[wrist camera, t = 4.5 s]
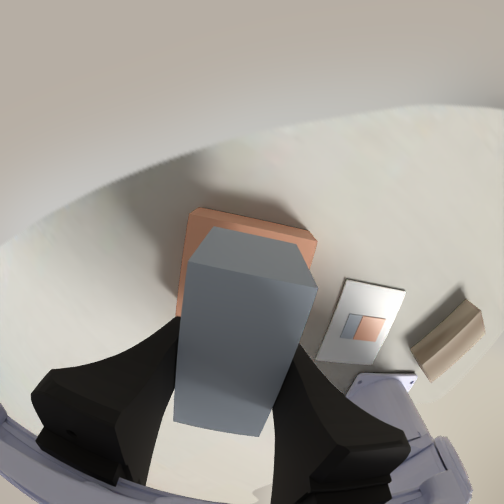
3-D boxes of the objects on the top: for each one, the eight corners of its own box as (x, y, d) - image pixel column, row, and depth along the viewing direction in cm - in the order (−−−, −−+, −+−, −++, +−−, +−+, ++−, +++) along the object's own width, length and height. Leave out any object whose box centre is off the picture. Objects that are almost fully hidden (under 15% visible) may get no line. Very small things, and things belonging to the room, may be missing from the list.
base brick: (281, 325, 22) (284, 346, 19) (184, 305, 21) (174, 324, 18) (308, 230, 19) (317, 241, 17) (199, 207, 19) (188, 213, 16)
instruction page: (370, 363, 23) (371, 365, 23) (315, 358, 23) (315, 361, 22) (405, 290, 21) (406, 292, 20) (346, 279, 20) (347, 280, 20)
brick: (471, 320, 22) (485, 333, 19) (419, 366, 24) (431, 383, 21) (464, 297, 21) (480, 310, 18) (409, 347, 23) (421, 365, 20)
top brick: (258, 370, 15) (258, 436, 10) (192, 357, 15) (173, 421, 10) (296, 243, 13) (317, 288, 8) (213, 226, 13) (187, 261, 8)
